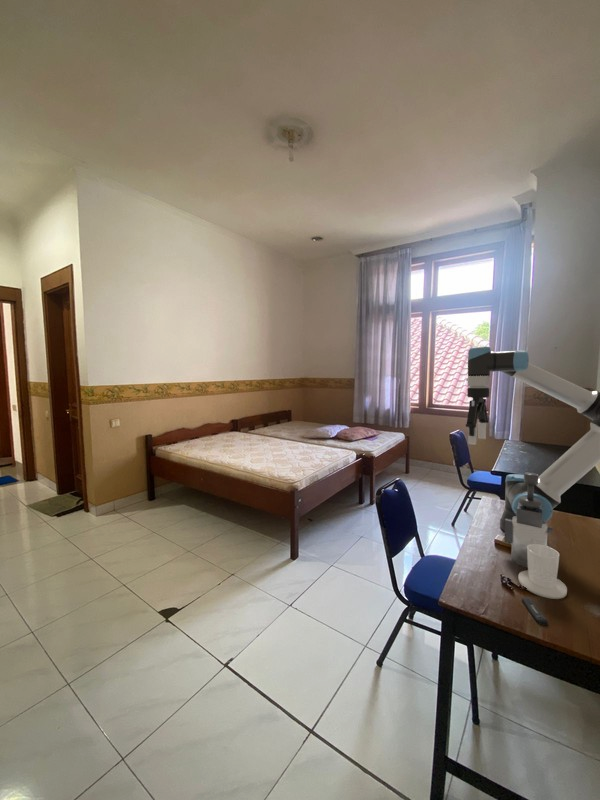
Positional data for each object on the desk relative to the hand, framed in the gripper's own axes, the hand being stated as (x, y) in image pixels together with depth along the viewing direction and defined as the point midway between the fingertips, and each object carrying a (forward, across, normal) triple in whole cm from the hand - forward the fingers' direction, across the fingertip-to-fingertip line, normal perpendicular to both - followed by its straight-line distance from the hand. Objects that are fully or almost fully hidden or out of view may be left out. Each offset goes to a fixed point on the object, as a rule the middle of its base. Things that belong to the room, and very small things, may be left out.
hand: (477, 441), depth 129 cm
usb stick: (+39, +35, +24) cm, 58 cm away
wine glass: (+24, +6, +19) cm, 31 cm away
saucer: (+39, +20, +24) cm, 50 cm away
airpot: (+39, +6, +18) cm, 43 cm away
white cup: (+38, +20, +24) cm, 49 cm away
